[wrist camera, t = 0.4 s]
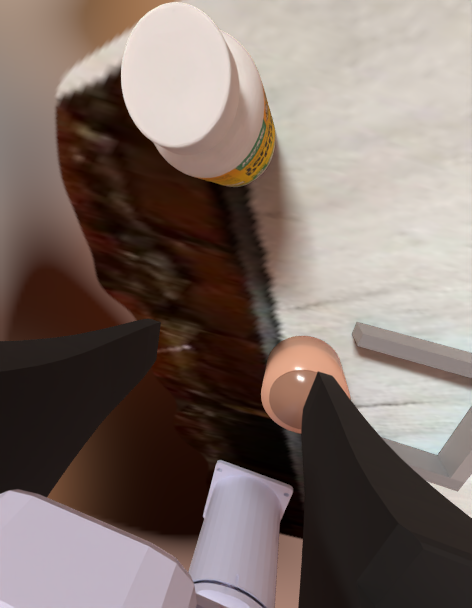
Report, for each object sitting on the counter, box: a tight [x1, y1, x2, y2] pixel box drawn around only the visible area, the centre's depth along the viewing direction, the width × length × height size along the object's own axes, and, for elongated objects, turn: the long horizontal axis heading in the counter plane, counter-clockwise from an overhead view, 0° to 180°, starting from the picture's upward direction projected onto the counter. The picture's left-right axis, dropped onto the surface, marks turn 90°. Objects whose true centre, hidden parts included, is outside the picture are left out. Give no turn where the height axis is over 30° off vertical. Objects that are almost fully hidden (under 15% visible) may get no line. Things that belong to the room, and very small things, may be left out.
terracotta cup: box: [261, 336, 350, 433], centre depth 20 cm, size 6×6×4 cm
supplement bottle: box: [121, 2, 276, 187], centre depth 13 cm, size 5×5×10 cm
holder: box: [352, 322, 472, 491], centre depth 20 cm, size 10×11×2 cm
